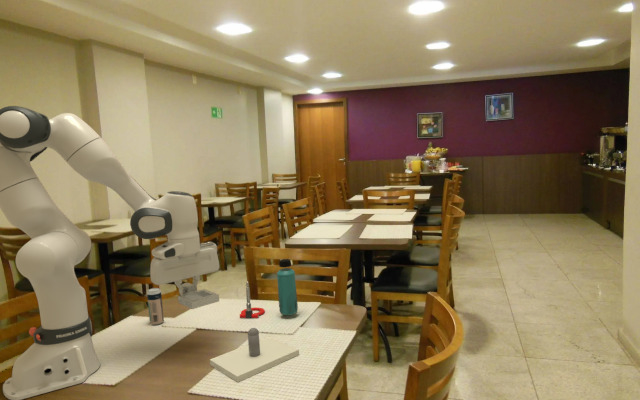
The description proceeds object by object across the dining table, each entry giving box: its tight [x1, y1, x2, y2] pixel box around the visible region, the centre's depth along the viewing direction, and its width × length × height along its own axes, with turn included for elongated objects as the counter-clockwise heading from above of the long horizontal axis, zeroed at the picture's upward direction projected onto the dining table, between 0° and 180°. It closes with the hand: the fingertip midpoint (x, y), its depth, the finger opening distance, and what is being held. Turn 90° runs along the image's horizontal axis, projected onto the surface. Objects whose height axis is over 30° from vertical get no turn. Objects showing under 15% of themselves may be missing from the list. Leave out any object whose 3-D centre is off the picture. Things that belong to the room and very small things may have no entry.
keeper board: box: [209, 327, 300, 383], centre depth 123 cm, size 20×14×9 cm
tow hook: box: [239, 280, 266, 319], centre depth 160 cm, size 8×13×9 cm
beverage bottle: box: [276, 258, 299, 316], centre depth 155 cm, size 6×7×20 cm
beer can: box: [146, 287, 165, 326], centre depth 155 cm, size 5×5×12 cm
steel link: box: [177, 282, 220, 310], centre depth 129 cm, size 12×8×4 cm
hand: (188, 292), depth 132 cm, fingers closed on steel link, 2 cm apart
